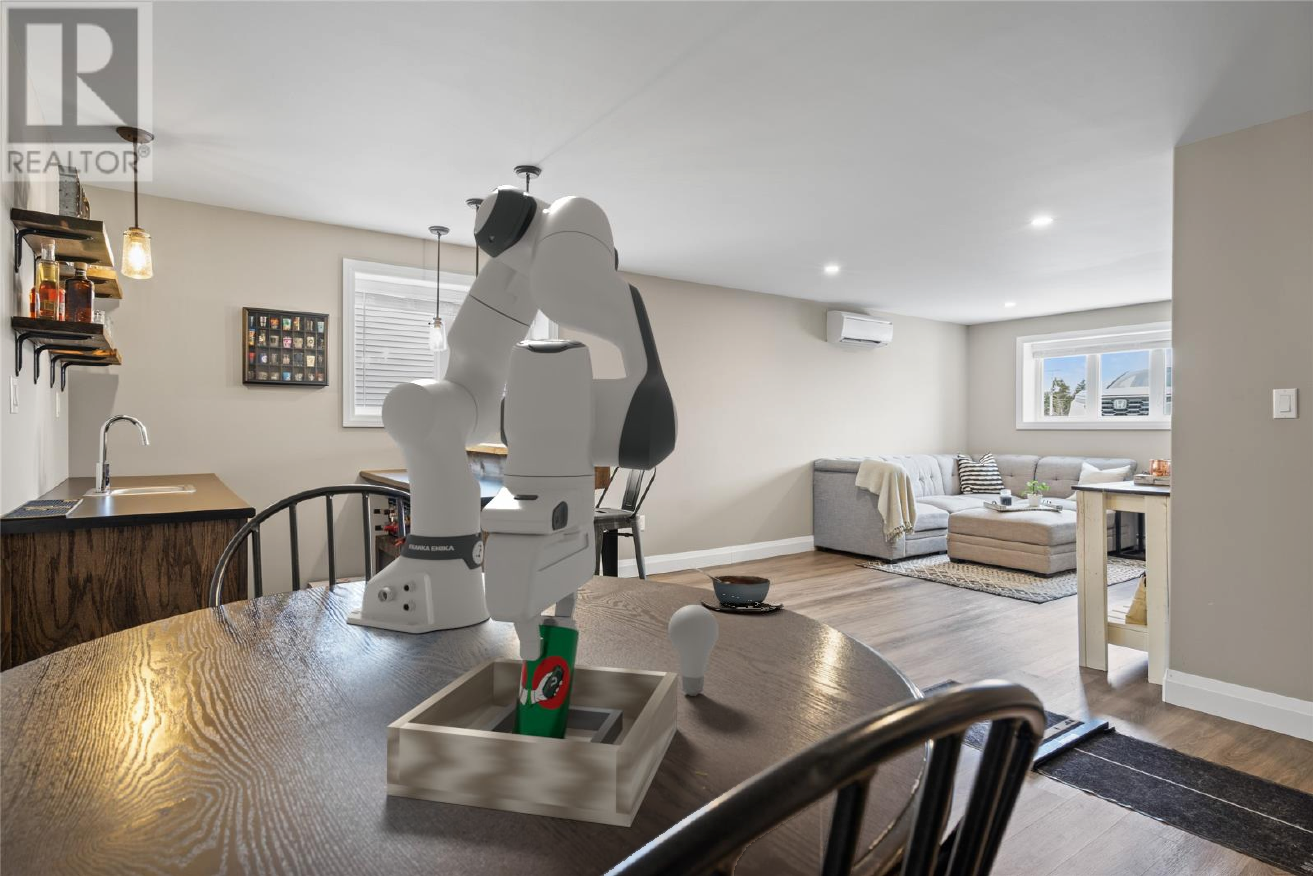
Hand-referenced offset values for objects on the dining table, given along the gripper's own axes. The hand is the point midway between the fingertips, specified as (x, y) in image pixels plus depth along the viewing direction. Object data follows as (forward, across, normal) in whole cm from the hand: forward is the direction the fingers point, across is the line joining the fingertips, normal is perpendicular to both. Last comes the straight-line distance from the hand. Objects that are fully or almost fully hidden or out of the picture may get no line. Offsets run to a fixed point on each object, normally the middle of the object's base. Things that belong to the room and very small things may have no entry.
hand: (547, 645), depth 71 cm
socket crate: (+11, 0, 0) cm, 11 cm away
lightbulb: (+11, -20, +11) cm, 25 cm away
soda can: (+9, +4, 0) cm, 10 cm away
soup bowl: (+12, -66, +12) cm, 68 cm away
